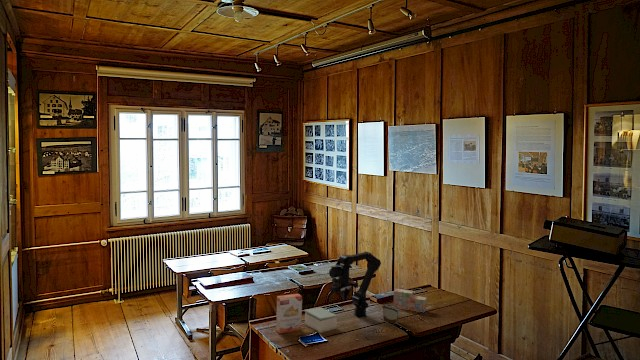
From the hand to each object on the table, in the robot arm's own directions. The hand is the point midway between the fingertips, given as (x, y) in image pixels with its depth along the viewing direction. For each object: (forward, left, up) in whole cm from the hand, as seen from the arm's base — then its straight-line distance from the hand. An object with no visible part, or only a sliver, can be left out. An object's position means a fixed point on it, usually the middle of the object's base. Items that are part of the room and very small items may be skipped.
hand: (344, 300), depth 285 cm
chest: (+17, +6, -13) cm, 22 cm away
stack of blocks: (-50, -9, -13) cm, 53 cm away
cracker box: (+37, +8, -13) cm, 40 cm away
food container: (-29, +9, -13) cm, 33 cm away
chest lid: (+17, +6, -6) cm, 19 cm away
